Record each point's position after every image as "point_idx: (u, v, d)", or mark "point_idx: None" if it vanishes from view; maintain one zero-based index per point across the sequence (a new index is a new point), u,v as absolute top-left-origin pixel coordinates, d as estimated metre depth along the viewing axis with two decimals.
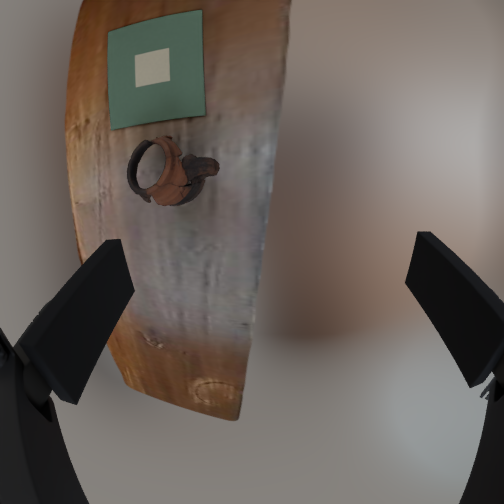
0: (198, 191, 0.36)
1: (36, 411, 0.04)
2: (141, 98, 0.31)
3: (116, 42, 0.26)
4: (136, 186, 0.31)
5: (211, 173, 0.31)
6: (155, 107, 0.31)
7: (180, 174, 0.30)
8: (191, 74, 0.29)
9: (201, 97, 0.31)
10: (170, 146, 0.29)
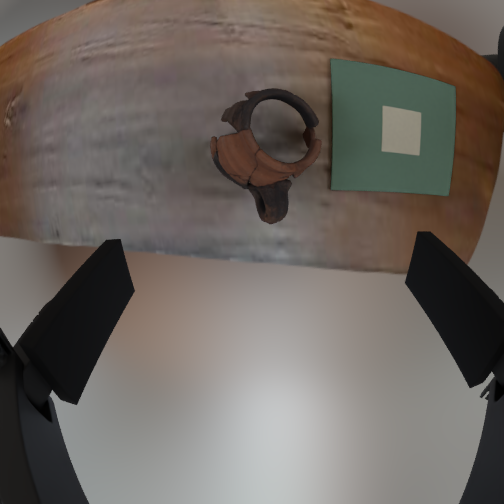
0: (230, 179, 0.26)
1: (36, 411, 0.04)
2: (366, 110, 0.23)
3: (441, 93, 0.21)
4: (253, 108, 0.19)
5: (265, 219, 0.24)
6: (351, 127, 0.24)
7: (267, 179, 0.22)
8: (383, 177, 0.27)
9: (353, 187, 0.27)
10: None
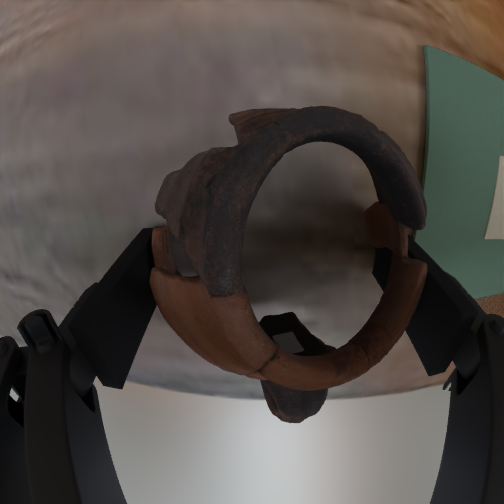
0: None
1: (80, 401, 0.05)
2: (479, 163, 0.10)
3: None
4: (255, 194, 0.05)
5: None
6: (452, 197, 0.11)
7: None
8: (474, 280, 0.13)
9: None
10: None
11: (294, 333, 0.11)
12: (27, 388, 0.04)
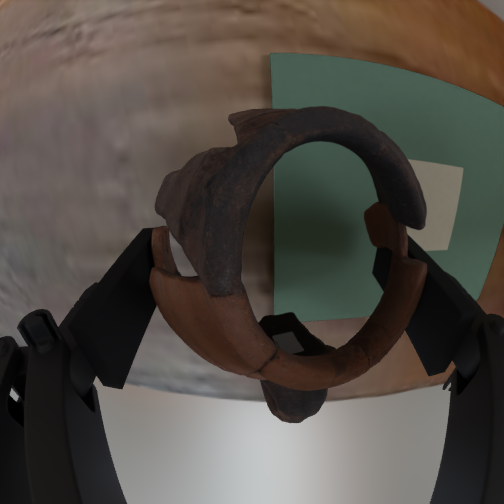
0: None
1: (81, 401, 0.05)
2: (354, 170, 0.11)
3: (498, 127, 0.10)
4: (255, 194, 0.05)
5: (277, 417, 0.10)
6: (316, 211, 0.12)
7: None
8: (374, 296, 0.15)
9: (316, 315, 0.15)
10: None
11: (293, 333, 0.11)
12: (27, 388, 0.04)
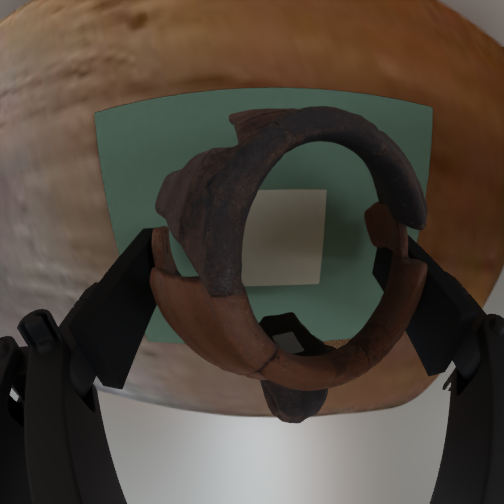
0: None
1: (81, 401, 0.05)
2: None
3: (392, 129, 0.10)
4: (255, 194, 0.05)
5: None
6: None
7: None
8: None
9: None
10: None
11: (294, 333, 0.11)
12: (27, 388, 0.04)
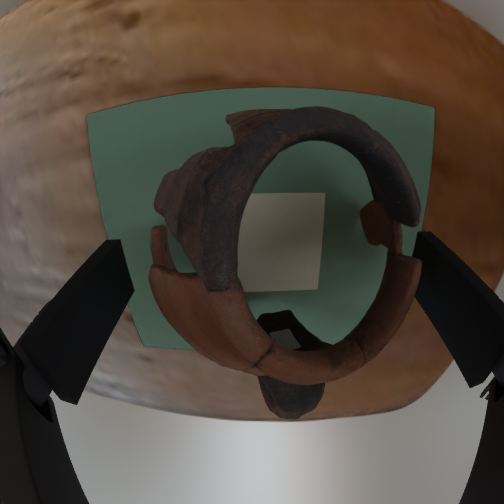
0: None
1: (36, 411, 0.04)
2: None
3: (393, 130, 0.10)
4: (250, 192, 0.05)
5: (275, 413, 0.10)
6: (144, 254, 0.13)
7: None
8: None
9: (178, 345, 0.16)
10: None
11: (291, 330, 0.12)
12: None
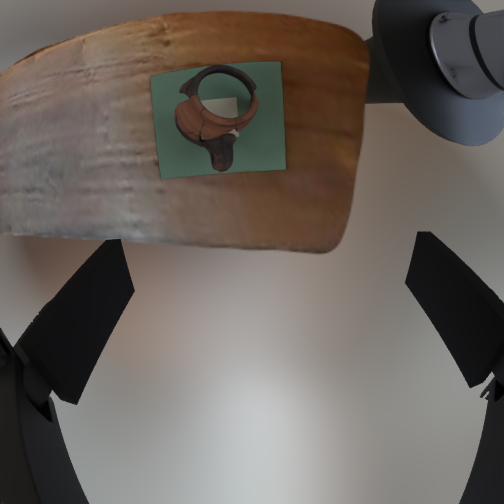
0: (191, 141, 0.30)
1: (36, 411, 0.04)
2: None
3: (261, 72, 0.27)
4: (200, 79, 0.23)
5: (215, 166, 0.28)
6: (169, 126, 0.30)
7: (214, 133, 0.26)
8: (204, 162, 0.33)
9: (178, 174, 0.33)
10: (247, 119, 0.26)
11: None
12: None
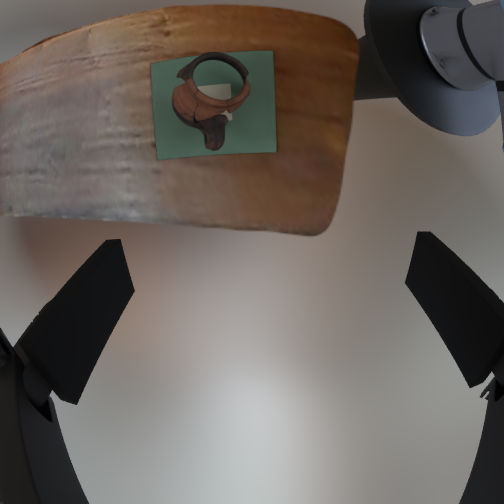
0: (186, 124, 0.31)
1: (36, 411, 0.04)
2: None
3: (254, 61, 0.28)
4: (196, 65, 0.24)
5: (207, 145, 0.29)
6: (166, 110, 0.31)
7: (207, 113, 0.27)
8: (198, 144, 0.34)
9: (174, 155, 0.34)
10: (239, 102, 0.26)
11: None
12: None
